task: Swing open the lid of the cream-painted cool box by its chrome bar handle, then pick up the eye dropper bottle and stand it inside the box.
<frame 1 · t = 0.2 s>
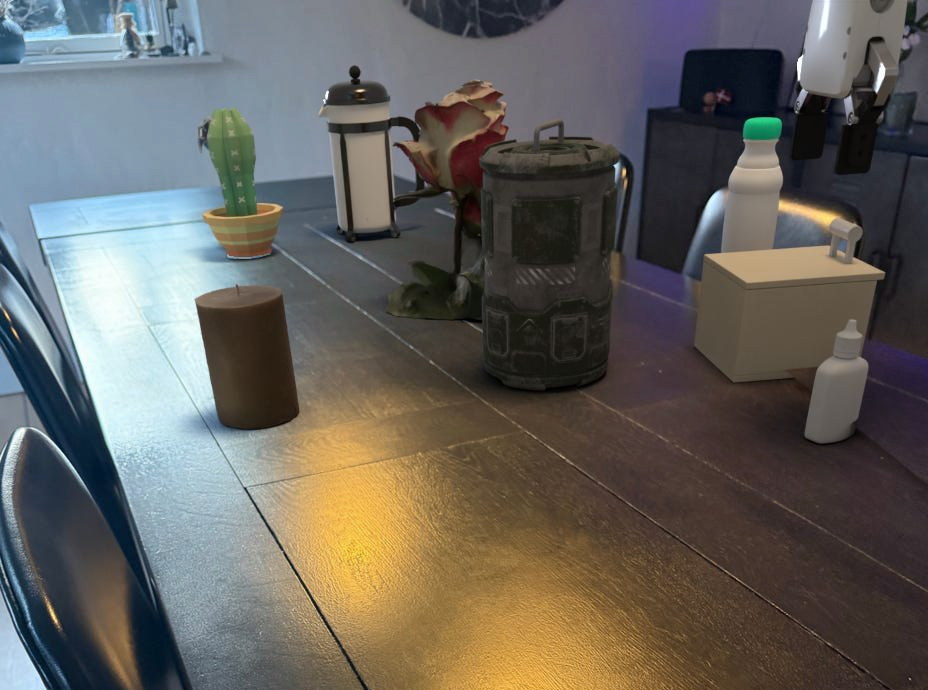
hand: (827, 165, 89), 25 cm above the table, tool pointing down, fingers open, 9 cm apart
potted cactus: (249, 255, 182), on the table
lid: (792, 247, 111), point 13 cm above the table, hinge at 0.0°
coffee press: (374, 235, 192), on the table
canister: (545, 373, 118), on the table
cool box: (772, 358, 118), on the table
eye dropper bottle: (828, 437, 98), on the table
pillar candle: (258, 415, 110), on the table
red and cream rose: (489, 300, 148), on the table
water bottle: (737, 315, 135), on the table
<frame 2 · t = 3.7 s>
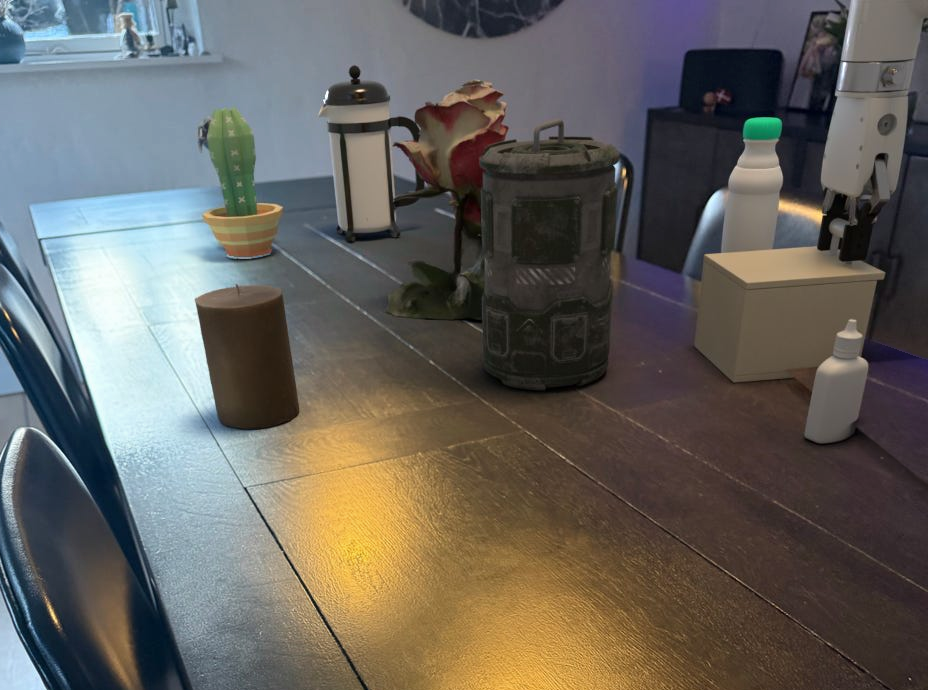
hand: (841, 253, 112), 12 cm above the table, tool pointing down, fingers closed on lid, 5 cm apart
lid: (792, 247, 111), point 13 cm above the table, hinge at 0.0°, touching gripper
everything else where it was.
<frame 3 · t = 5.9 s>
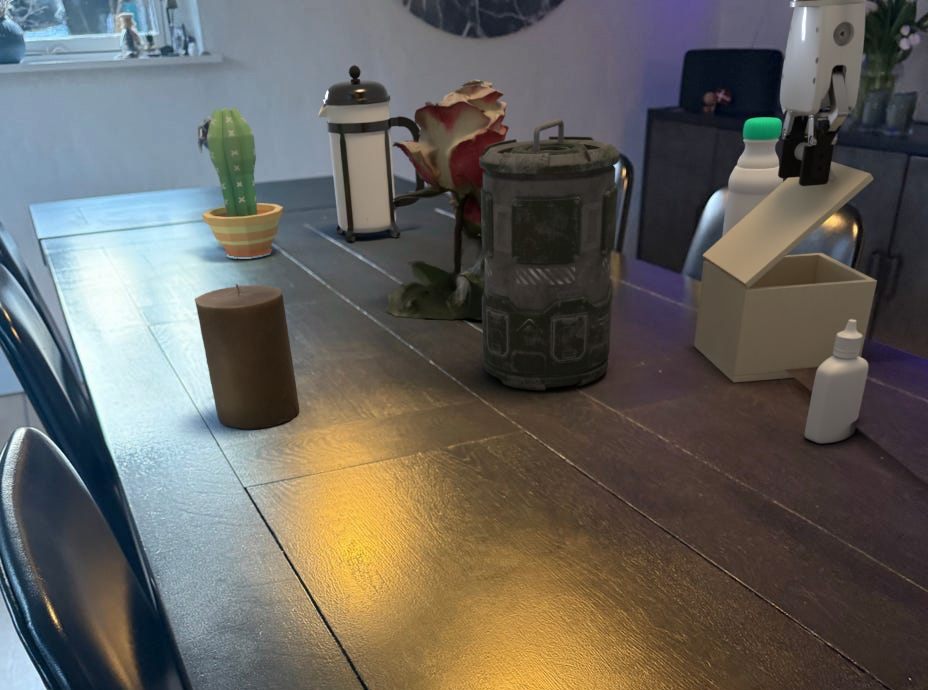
hand: (802, 179, 106), 21 cm above the table, tool pointing down, fingers closed on lid, 5 cm apart
lid: (772, 206, 108), point 18 cm above the table, hinge at 40.3°, touching gripper
everything else where it was.
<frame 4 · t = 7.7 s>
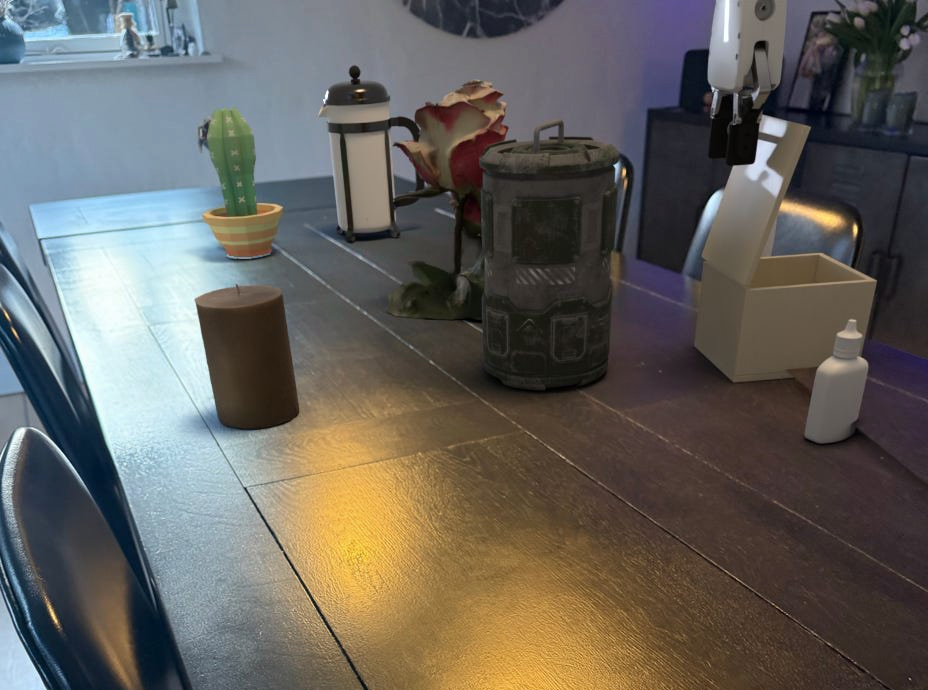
hand: (730, 159, 104), 23 cm above the table, tool pointing down, fingers closed on lid, 5 cm apart
lid: (734, 194, 107), point 20 cm above the table, hinge at 74.7°, touching gripper
everything else where it was.
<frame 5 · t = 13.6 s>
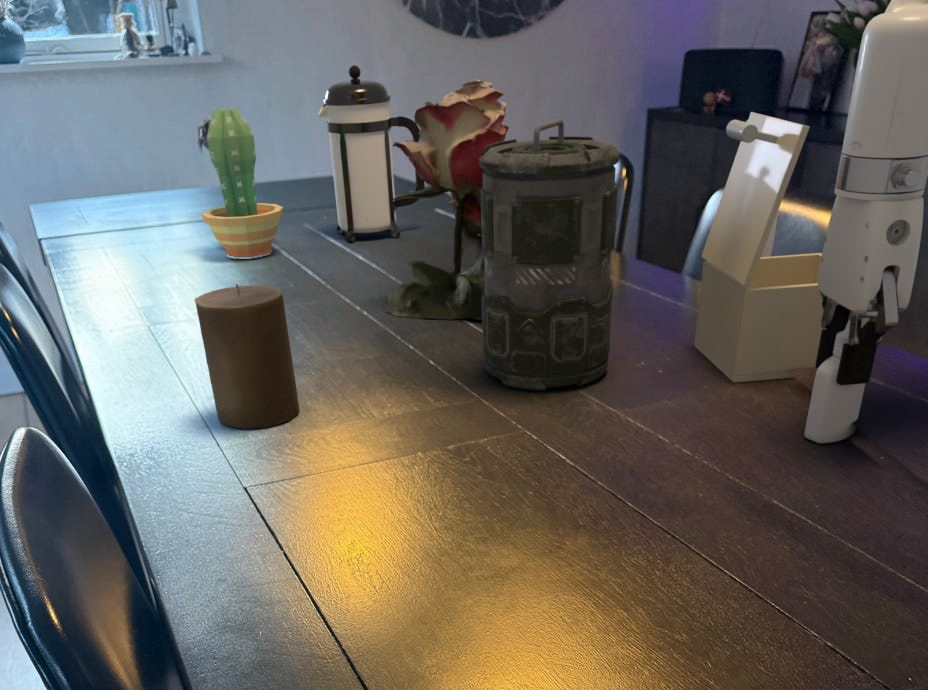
hand: (841, 373, 94), 7 cm above the table, tool pointing down, fingers closed on eye dropper bottle, 4 cm apart
lid: (733, 194, 107), point 20 cm above the table, hinge at 75.2°
eye dropper bottle: (828, 437, 98), on the table, touching gripper
everything else where it was.
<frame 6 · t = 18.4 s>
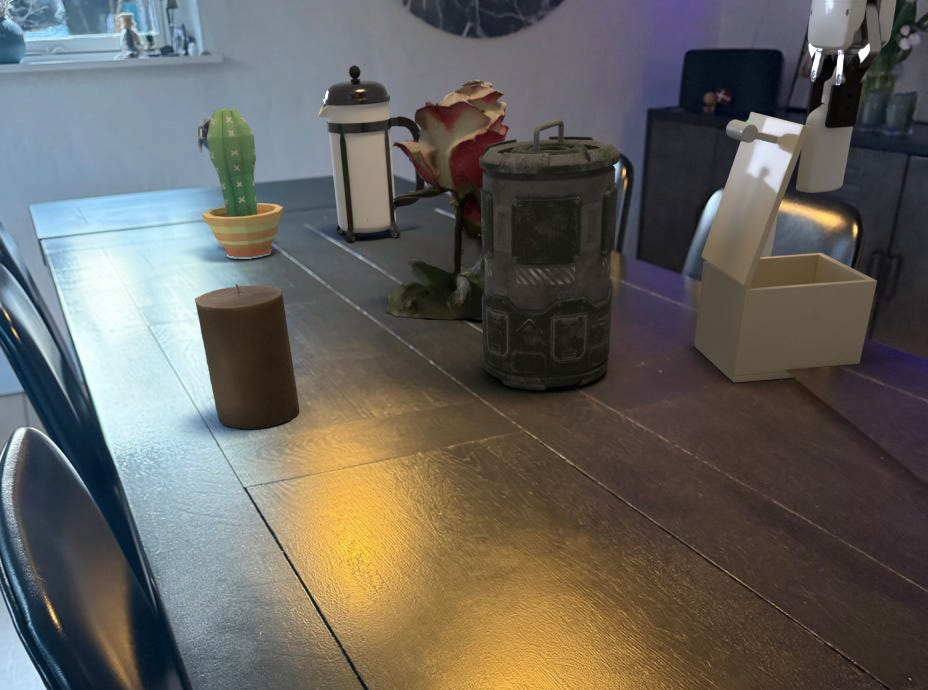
hand: (830, 122, 102), 27 cm above the table, tool pointing down, fingers closed on eye dropper bottle, 4 cm apart
eye dropper bottle: (818, 191, 106), point 20 cm above the table, touching gripper
everything else where it was.
when the fingers open (8 cm above the table, at t = 23.1 s): eye dropper bottle stays where it is, resting on cool box.
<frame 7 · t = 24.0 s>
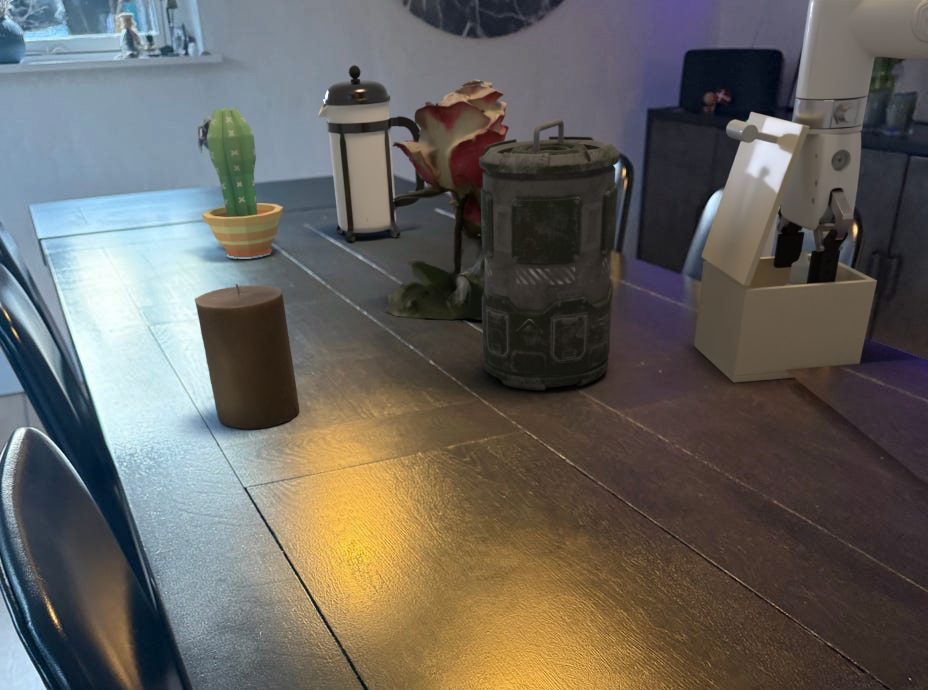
hand: (802, 276, 113), 10 cm above the table, tool pointing down, fingers open, 9 cm apart
eye dropper bottle: (787, 353, 118), point 1 cm above the table, touching cool box
everything else where it was.
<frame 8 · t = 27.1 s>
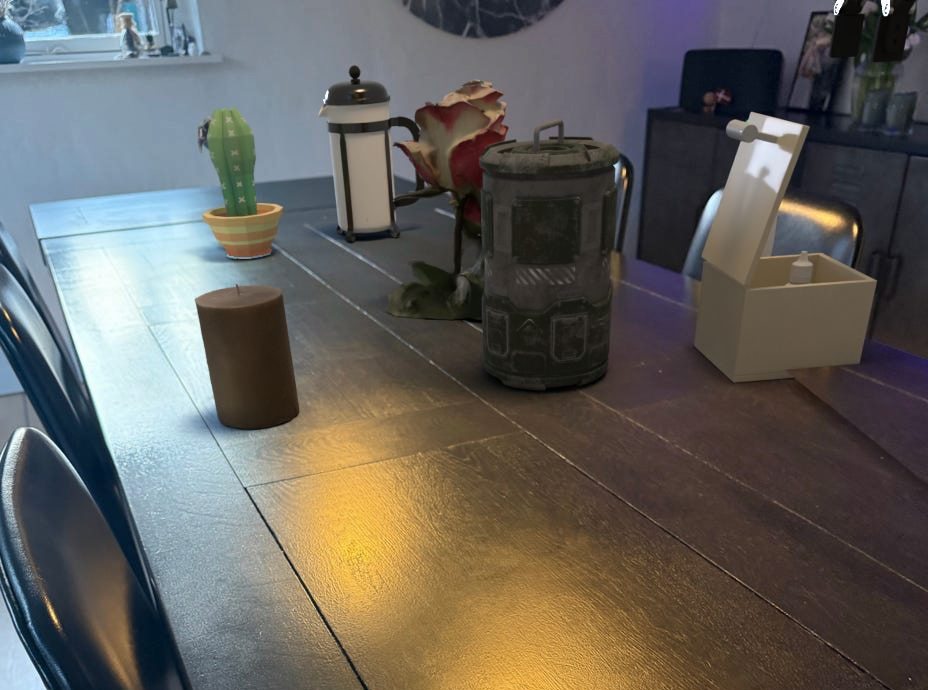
hand: (863, 59, 100), 32 cm above the table, tool pointing down, fingers open, 9 cm apart
nothing on the table moved.
at the end: lid at +75° (first picture: +0°); eye dropper bottle inside the target area in the cool box (1.9 cm from its centre), point 0.6 cm above the cool box's base; eye dropper bottle tilted 0° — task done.
